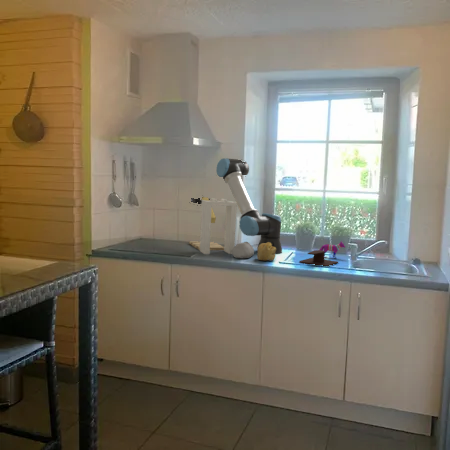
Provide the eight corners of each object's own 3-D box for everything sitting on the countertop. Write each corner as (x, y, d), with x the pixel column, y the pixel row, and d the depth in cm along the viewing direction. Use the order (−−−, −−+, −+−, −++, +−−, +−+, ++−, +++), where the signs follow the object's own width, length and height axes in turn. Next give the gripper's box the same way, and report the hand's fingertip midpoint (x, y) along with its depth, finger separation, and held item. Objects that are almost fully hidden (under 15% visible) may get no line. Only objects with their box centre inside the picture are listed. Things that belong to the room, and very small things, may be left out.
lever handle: (296, 250, 255) (312, 247, 272) (295, 264, 256) (311, 259, 272) (325, 255, 246) (339, 250, 262) (324, 268, 247) (338, 264, 263)
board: (225, 250, 289) (225, 247, 289) (200, 250, 284) (200, 247, 283) (212, 243, 313) (213, 241, 313) (189, 243, 308) (189, 241, 308)
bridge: (234, 253, 277) (236, 199, 274) (204, 254, 271) (206, 198, 268) (228, 251, 286) (231, 198, 283) (199, 251, 281) (202, 197, 277)
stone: (272, 262, 254) (273, 244, 253) (253, 261, 257) (254, 242, 256) (277, 259, 266) (278, 241, 265) (259, 257, 269) (260, 239, 268)
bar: (214, 223, 290) (215, 217, 287) (208, 222, 288) (209, 217, 286) (206, 202, 306) (207, 197, 304) (200, 202, 305) (201, 197, 303)
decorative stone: (249, 255, 257) (241, 239, 259) (234, 264, 261) (226, 248, 262) (259, 253, 273) (251, 238, 275) (245, 262, 277) (237, 247, 278)
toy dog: (344, 259, 276) (345, 242, 274) (313, 256, 283) (314, 238, 282) (345, 258, 279) (346, 241, 278) (314, 255, 286) (316, 238, 285)
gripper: (209, 205, 323) (220, 208, 301) (185, 204, 318) (193, 208, 296) (210, 194, 322) (220, 196, 300) (185, 193, 317) (194, 195, 295)
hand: (207, 202), depth 298 cm, fingers closed on bar, 4 cm apart
